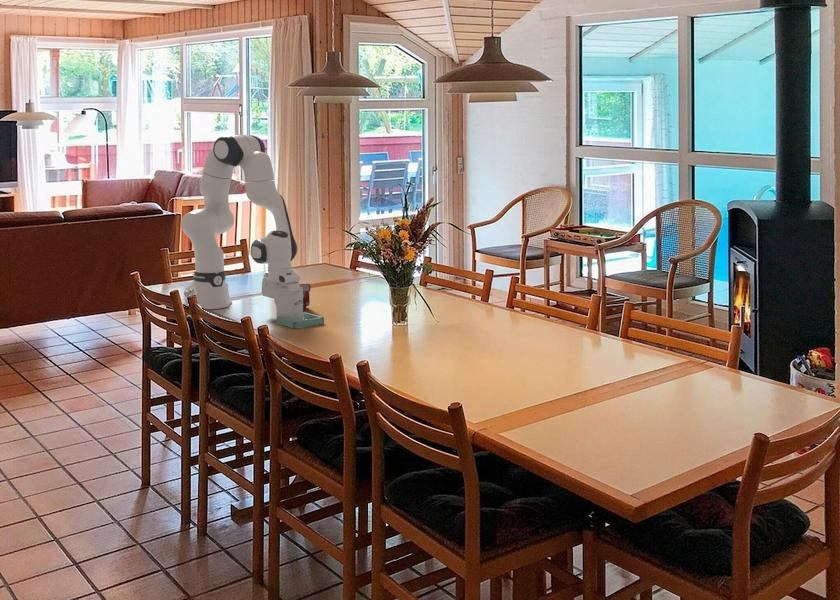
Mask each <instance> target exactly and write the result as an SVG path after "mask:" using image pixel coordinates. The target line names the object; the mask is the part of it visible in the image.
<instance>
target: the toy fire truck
mask: <svg viewBox="0 0 840 600" xmlns="http://www.w3.org/2000/svg"><path fill="white" fill-rule="evenodd" d="M299 285H300V287H302V288H303V311H305V310H306V309H307V307H309V306H310V302H311V301H310V298H311V297H310V291H311V284H310V283H299Z"/></svg>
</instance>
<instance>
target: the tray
mask: <svg viewBox="0 0 840 600" xmlns="http://www.w3.org/2000/svg"><path fill="white" fill-rule="evenodd" d="M303 318H304V319H307V320H304V319H303V320H301V321H292V320H289V319H285V318H281V317H277V316H276V319H275V320H276V324H277V323H278V324H277V325H279V324H281V325H280V326H282V325H285V326H284V327H286V326H288V327H287V328H289V327H292V328H291V329H293V328H299V327H304V328H307V327H306V326H310V327H314V326H313V325H315V326H320V325H319V324H321V325H325V317H324V316H321V315H317V314H313V313H309V312H305V311H303ZM299 329H300V328H299Z"/></svg>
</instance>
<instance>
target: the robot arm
mask: <svg viewBox="0 0 840 600" xmlns="http://www.w3.org/2000/svg"><path fill="white" fill-rule="evenodd" d="M272 164H273V163H272V161H271V158H270V156H269V154H267V153H266V146H265V143H264V141H263V140H262V139H261V138H260V137H258V136H256V135H251V134H250V135H248V134H235V135H234V134H232V135H231V134H229V135H221V136H220V137H218V138H217V139H216V140H215V141H214V143H213V146H212V147H211V148H210V149H209V151H208V153H207V156H206V158H205V161H204V166H203V170H202V174H201V180H200V184H199V185H200V186H199V193H200V195H201V196H202V197H203V200H204V206H203V208H198V209H193V210H191V211H189V212H186V213H185V214H184V215H183V216H182V218H181V222H180V226H181V230H182V232H183V233H184V234H185V236H187V237H188V239H189V240H190V242H191V245H192V248H193V252H194V263H195V264H194V265H195V267H194V268H195V270H194V271H193V272H192V273H193V274H192V275H193V279H192V281H191V283H190V284H188V285H187V286H186V287H185V289H184V292H183V294H184V299H181V300H182V302H183V303H184V304H185V305H186V306H188V301H187V297H188V296H189V295H196V296H197V299H198V304H199V305H200V306H201V307H202V308H204V309H203V310H216V309H217V310H218V309H225V308H228V307H230V306H231V304H233V301H232V299H231V300H230V290H229V284H228V283H227V282H226V277H227V276H226V275H227V273H226V270H225V256H224V250H223V249H222V248H221V247H220V246H219V244H218V243H217V238H216V236H217V235H221V234H224V233H226V232H228V231H229V230H231V229H232V228H233V226H234V224H235V217H234V214H233V212H232V210H230V203H229V194H230V188H231V183H232V177H233V172H234V168H236V167H237V166H239V167H241V170H243V175H244V176H243V177H244V178H243V180H244V191H245V195H246V198H247V199H249V201H250V202H251V203H253V204H254V205H256V206H259V207H262V208H264V209H266V210H268V211H270V212H271V214H272V216H273V218H274V219H273V220H274V223H275V227H276V230H271V231H269V232H268V233H267V235H265V236H263V237H260V238H258V239H255V240H253V242H252V244H251V245H250V256H251V258H252V260H253V262H255V263H257V264H260V265H261V264H262V265H265V264H267V271H265V273H264V274H263V278H262V281H261V295H262V297H267V298H269V299H273V301H274V304H275V306H276V307H277V299H276V289H279V288H283V287H284V288H288V289H298V288H300V285H299V284H300V283H299V282H301V276H300V275H299V274H298V273H296V272H295V271H294V269H293V266H292V261H293V260H294V259H295V257H296V255H297V254H298V244H297V242H296V239H295V237H294V235H293V234H294V233H293V230H292V225H291V221H290V218H289V213H288V209H287V205H286V202H285V199H284V197H283V196H282V194H279V191H278V190H277V187H276V184H275V174H274V169H273V165H272Z"/></svg>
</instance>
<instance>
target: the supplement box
mask: <svg viewBox="0 0 840 600" xmlns="http://www.w3.org/2000/svg"><path fill="white" fill-rule="evenodd" d="M276 299H277V306H276V317H281V318H285V319H289V320H292V321H301V320H304V319H303V313H304V310H303V288H302V287H300V288H298V289H288V288H284V287H283V288H279V289H276Z"/></svg>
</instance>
